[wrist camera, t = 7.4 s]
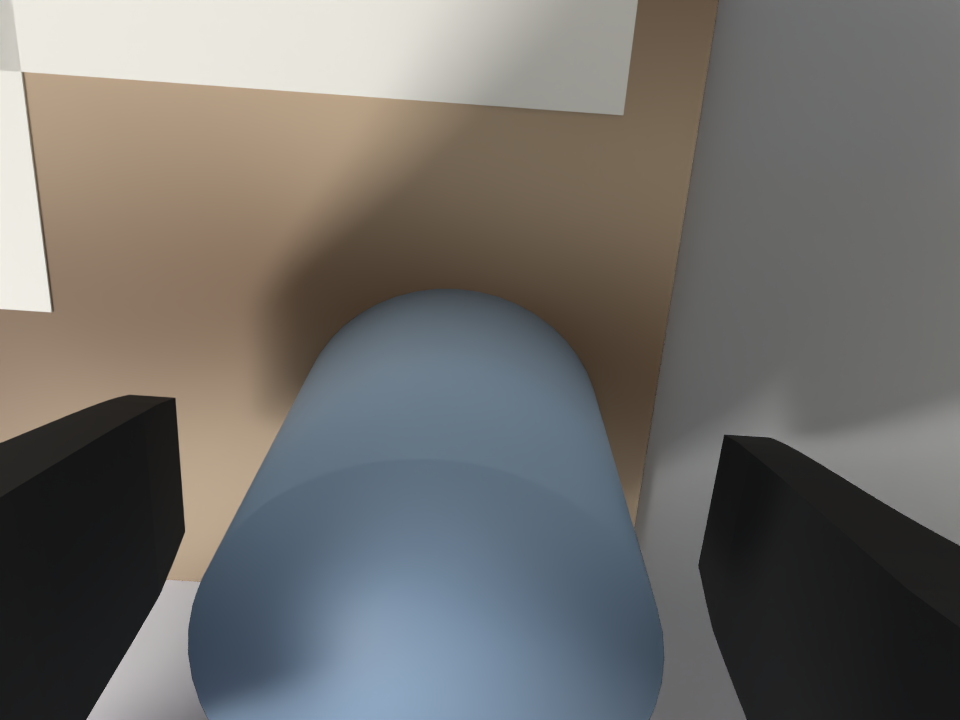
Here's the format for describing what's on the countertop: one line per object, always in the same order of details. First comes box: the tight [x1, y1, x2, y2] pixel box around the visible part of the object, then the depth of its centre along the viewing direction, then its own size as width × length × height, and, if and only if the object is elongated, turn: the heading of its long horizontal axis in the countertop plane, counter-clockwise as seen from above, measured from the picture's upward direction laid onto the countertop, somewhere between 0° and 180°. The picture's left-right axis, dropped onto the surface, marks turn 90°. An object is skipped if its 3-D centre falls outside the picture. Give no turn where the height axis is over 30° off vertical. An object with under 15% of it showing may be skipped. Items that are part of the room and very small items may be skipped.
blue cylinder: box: [188, 289, 664, 720], centre depth 10 cm, size 4×4×5 cm
